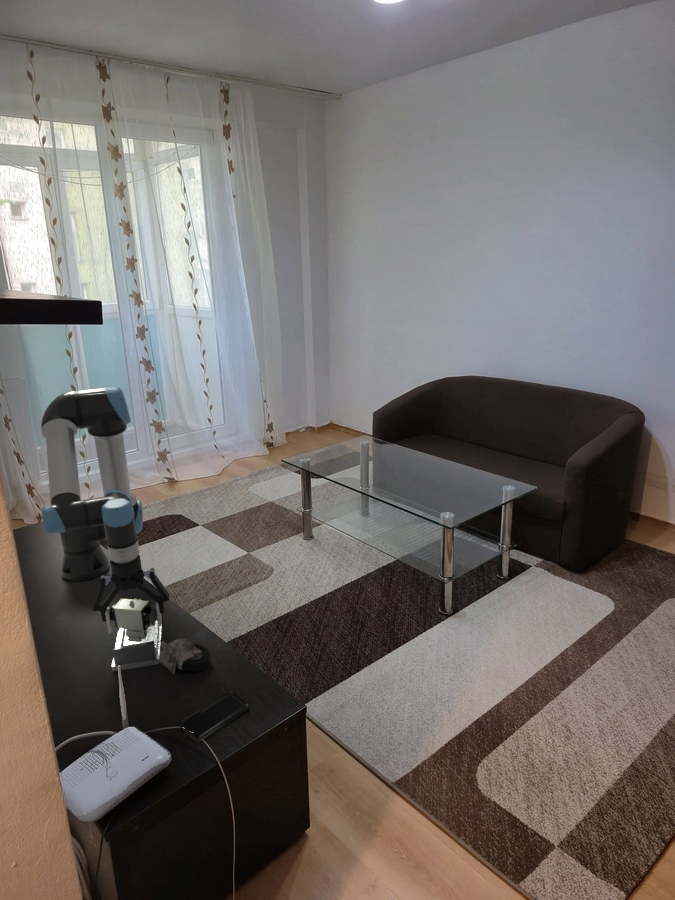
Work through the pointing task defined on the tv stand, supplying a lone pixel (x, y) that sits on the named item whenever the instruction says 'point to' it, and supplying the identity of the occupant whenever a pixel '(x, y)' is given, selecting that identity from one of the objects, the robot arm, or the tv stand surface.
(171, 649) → the caster wheel
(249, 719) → the tv stand surface
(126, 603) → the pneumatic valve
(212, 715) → the phone
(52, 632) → the tv stand surface
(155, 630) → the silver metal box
